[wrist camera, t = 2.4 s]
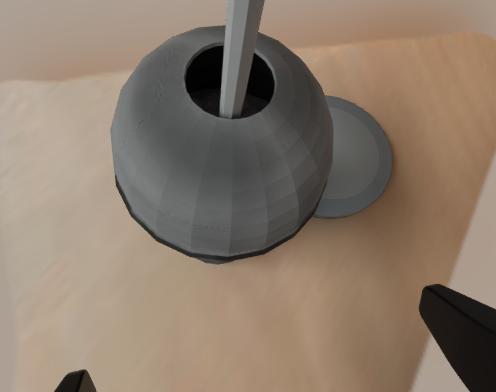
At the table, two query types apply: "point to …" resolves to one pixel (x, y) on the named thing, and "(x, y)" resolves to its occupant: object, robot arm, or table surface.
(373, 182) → the slate dish
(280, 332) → the table surface
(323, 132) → the beverage cup
